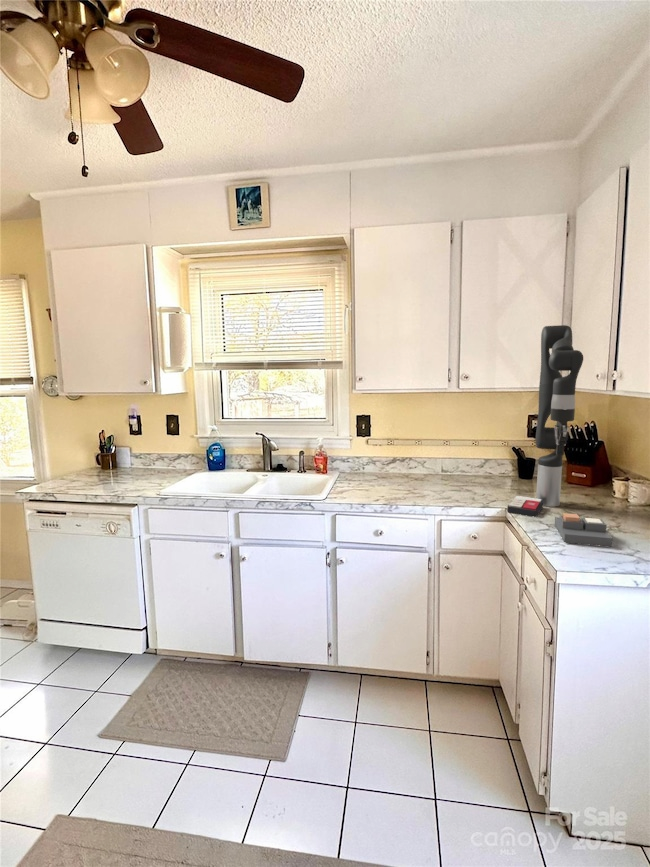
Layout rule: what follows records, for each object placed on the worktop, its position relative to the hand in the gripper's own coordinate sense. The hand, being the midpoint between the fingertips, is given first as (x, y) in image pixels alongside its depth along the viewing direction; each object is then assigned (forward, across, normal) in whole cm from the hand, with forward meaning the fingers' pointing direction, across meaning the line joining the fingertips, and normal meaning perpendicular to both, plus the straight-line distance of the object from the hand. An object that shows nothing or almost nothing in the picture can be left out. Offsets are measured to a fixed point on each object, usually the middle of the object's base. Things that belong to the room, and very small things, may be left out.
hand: (559, 455), depth 161 cm
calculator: (+28, -19, -8) cm, 34 cm away
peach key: (+23, +7, +3) cm, 24 cm away
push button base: (+27, +7, +7) cm, 29 cm away
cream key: (+24, +7, +11) cm, 27 cm away
